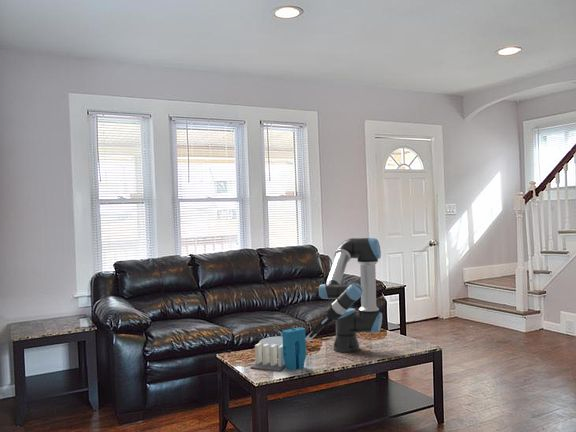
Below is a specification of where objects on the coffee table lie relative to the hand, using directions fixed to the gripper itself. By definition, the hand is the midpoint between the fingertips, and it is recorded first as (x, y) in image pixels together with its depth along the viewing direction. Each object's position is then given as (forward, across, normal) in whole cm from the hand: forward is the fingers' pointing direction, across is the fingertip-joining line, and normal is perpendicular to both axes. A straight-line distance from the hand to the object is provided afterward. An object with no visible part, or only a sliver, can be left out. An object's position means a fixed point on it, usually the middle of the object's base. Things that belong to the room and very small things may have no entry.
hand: (306, 340), depth 264 cm
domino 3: (+24, 0, +4) cm, 24 cm away
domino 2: (+27, 0, +7) cm, 28 cm away
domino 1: (+30, 0, +10) cm, 31 cm away
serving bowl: (+31, +24, +9) cm, 40 cm away
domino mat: (+25, 0, +4) cm, 26 cm away
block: (+16, 0, -6) cm, 17 cm away
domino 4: (+20, 0, 0) cm, 20 cm away
